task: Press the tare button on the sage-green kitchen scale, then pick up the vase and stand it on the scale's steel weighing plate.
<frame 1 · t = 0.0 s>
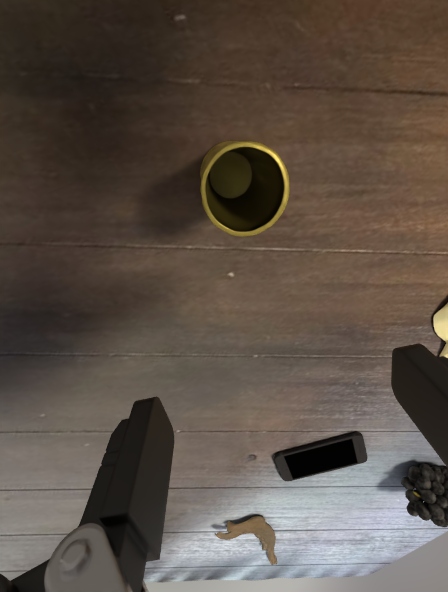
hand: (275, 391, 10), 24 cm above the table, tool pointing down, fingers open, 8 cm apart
smartphone: (319, 454, 50), on the table
vase: (230, 174, 30), on the table
jawbone: (248, 538, 61), on the table
fruit: (430, 471, 53), on the table
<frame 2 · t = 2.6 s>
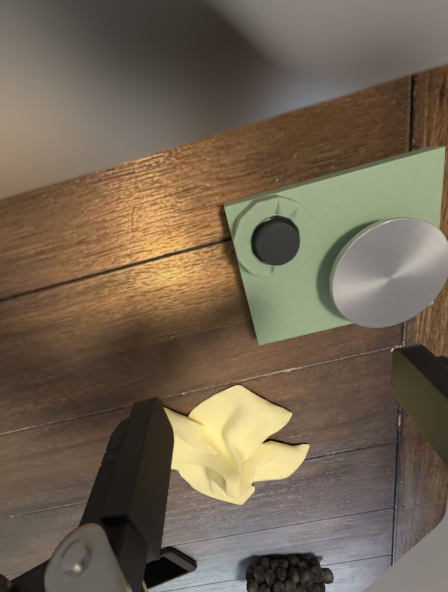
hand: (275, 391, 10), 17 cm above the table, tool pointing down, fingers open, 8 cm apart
tare button: (276, 242, 21), point 4 cm above the table, slide at 0.1 cm
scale: (330, 253, 25), on the table
weighing plate: (386, 275, 23), resting on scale
cloth: (230, 449, 37), on the table
smartphone: (151, 568, 49), on the table
fruit: (283, 559, 50), on the table
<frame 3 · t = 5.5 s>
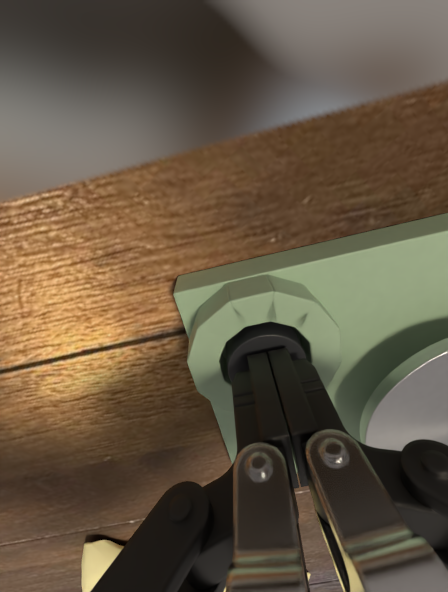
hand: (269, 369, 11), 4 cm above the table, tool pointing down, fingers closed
tare button: (263, 355, 12), point 3 cm above the table, slide at -0.7 cm, touching gripper
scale: (356, 350, 16), on the table
cloth: (201, 576, 27), on the table
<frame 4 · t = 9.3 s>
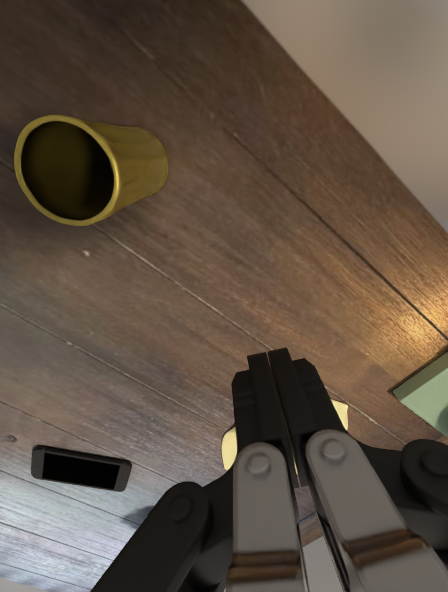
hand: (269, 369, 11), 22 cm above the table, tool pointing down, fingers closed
cloth: (279, 432, 45), on the table
smartphone: (83, 466, 47), on the table
vase: (136, 163, 28), on the table
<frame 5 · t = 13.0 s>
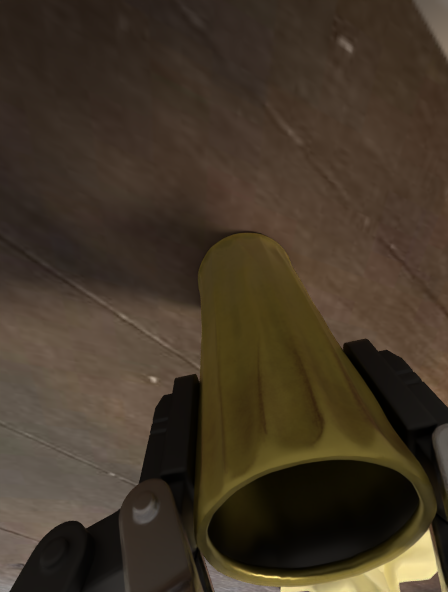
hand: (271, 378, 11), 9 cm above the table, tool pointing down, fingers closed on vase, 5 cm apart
cloth: (354, 557, 37), on the table
vase: (244, 276, 19), on the table, touching gripper
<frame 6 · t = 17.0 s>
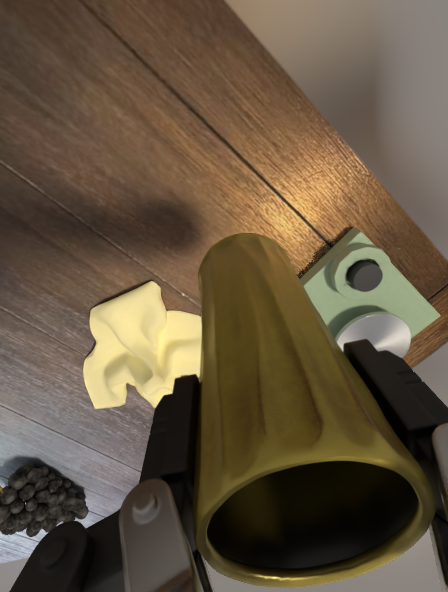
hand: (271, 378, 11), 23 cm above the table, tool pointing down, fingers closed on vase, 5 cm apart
tare button: (364, 275, 30), point 4 cm above the table, slide at 0.1 cm
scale: (351, 307, 36), on the table
weighing plate: (369, 344, 35), resting on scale
cloth: (149, 360, 39), on the table
vase: (244, 276, 19), point 14 cm above the table, touching gripper
fruit: (54, 479, 49), on the table
when the fingers open (14 cm above the table, at t = 21.3 s): vase stays where it is, resting on weighing plate.
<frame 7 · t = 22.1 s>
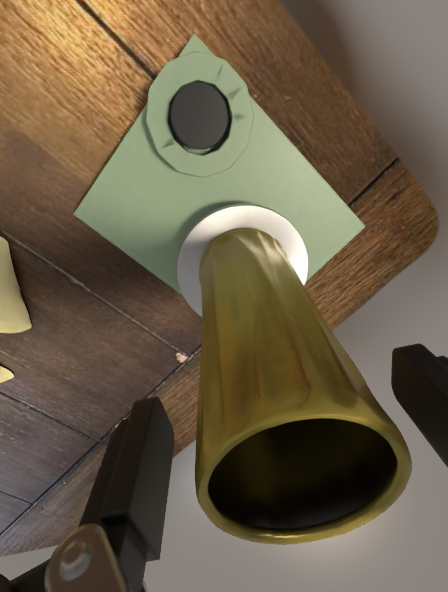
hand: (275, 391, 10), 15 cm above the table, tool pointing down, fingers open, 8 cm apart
tare button: (199, 118, 16), point 4 cm above the table, slide at 0.1 cm
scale: (222, 215, 22), on the table
weighing plate: (242, 270, 20), resting on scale
vase: (243, 271, 20), point 4 cm above the table, touching weighing plate
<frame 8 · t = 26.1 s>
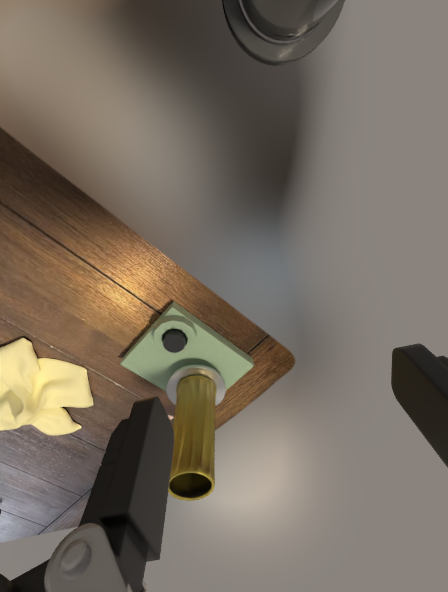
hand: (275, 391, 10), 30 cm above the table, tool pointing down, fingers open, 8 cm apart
tare button: (174, 340, 40), point 4 cm above the table, slide at 0.1 cm
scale: (188, 357, 46), on the table
weighing plate: (196, 387, 45), resting on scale
cloth: (35, 394, 49), on the table
vase: (196, 389, 44), point 4 cm above the table, touching weighing plate
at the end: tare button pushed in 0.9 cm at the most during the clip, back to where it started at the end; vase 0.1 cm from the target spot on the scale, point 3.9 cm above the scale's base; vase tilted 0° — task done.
